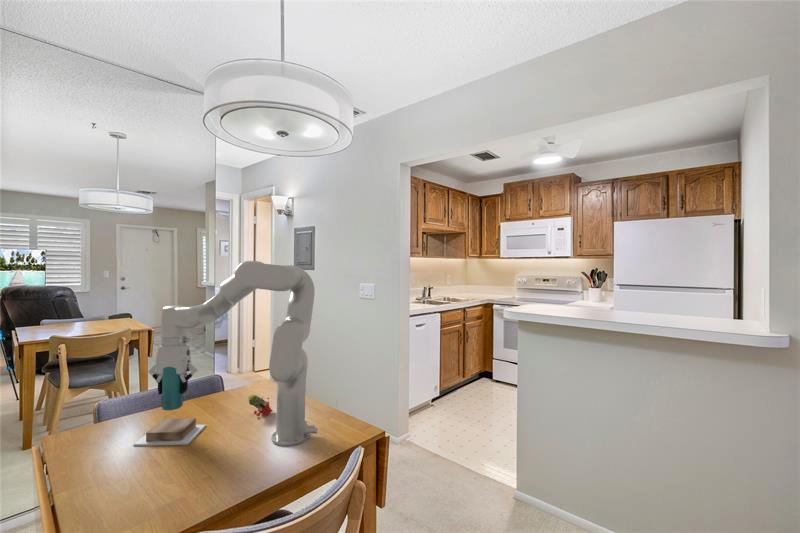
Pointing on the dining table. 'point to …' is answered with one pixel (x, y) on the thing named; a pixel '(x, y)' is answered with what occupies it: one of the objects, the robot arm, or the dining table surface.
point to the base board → (184, 441)
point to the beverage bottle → (171, 389)
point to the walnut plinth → (171, 430)
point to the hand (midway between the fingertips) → (172, 392)
